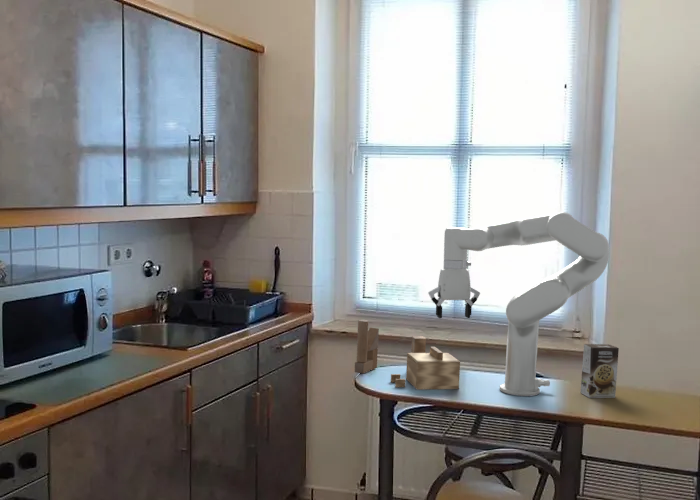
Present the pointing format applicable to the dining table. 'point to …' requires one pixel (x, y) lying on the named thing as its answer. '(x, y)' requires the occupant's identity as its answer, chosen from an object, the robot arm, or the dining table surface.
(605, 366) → the coffee box
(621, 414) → the dining table surface
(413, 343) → the tall wooden pillar
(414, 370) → the toolbox
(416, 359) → the lid
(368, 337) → the wooden block
